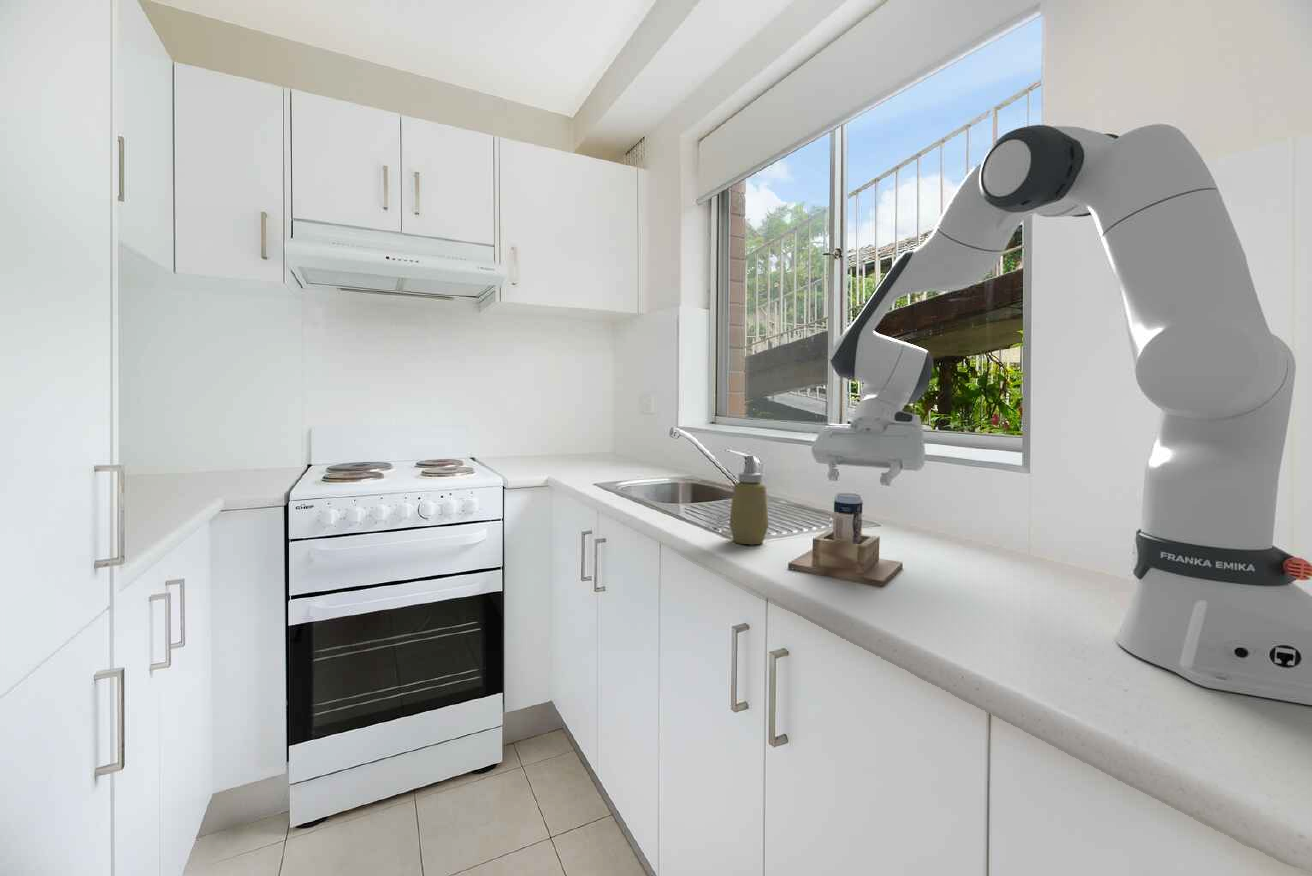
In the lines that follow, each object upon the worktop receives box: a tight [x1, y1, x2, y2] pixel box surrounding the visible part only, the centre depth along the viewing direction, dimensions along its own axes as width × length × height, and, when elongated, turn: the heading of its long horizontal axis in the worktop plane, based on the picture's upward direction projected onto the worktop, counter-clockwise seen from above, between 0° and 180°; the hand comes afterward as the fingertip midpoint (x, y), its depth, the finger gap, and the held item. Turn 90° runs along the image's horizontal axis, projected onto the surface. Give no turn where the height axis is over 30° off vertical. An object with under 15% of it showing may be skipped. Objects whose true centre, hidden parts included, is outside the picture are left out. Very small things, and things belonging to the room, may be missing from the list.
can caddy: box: [787, 529, 903, 588], centre depth 101 cm, size 16×13×6 cm
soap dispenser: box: [729, 455, 769, 546], centre depth 118 cm, size 8×8×18 cm
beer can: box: [832, 492, 864, 544], centre depth 101 cm, size 5×5×12 cm
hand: (857, 481), depth 105 cm, fingers open, 8 cm apart
